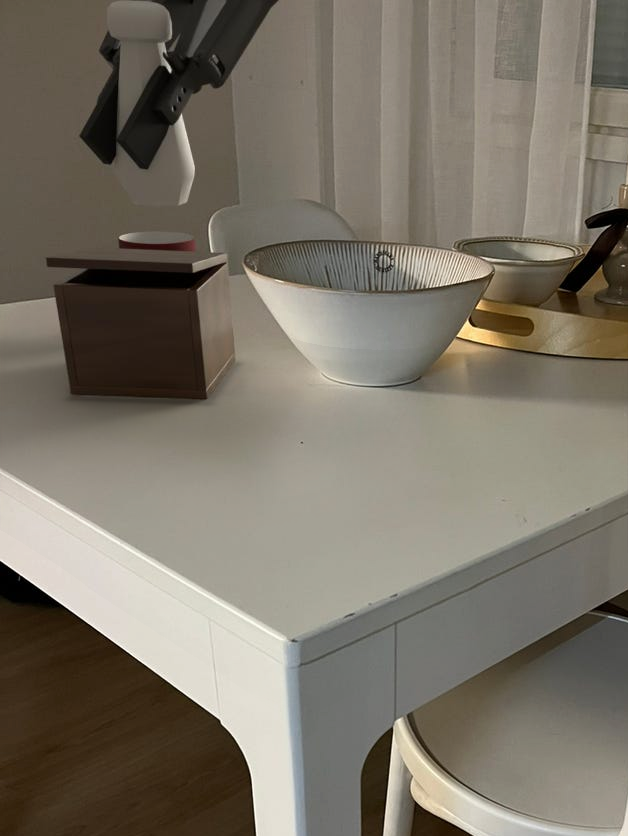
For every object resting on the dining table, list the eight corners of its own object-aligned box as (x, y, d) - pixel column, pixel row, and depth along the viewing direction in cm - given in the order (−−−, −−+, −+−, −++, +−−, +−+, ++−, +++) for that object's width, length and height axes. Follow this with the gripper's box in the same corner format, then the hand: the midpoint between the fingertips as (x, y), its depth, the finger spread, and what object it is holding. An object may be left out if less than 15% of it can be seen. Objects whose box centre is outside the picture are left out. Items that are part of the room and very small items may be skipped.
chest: (207, 399, 96) (196, 290, 91) (70, 394, 95) (52, 284, 90) (235, 360, 107) (227, 262, 102) (114, 355, 107) (100, 256, 102)
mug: (126, 318, 121) (114, 228, 116) (196, 316, 123) (188, 227, 118) (132, 341, 112) (120, 244, 107) (207, 337, 115) (199, 243, 110)
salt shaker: (101, 201, 77) (74, -3, 70) (159, 194, 81) (139, 1, 75) (157, 210, 74) (134, -1, 68) (213, 203, 79) (197, 4, 72)
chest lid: (193, 273, 89) (192, 263, 89) (46, 267, 89) (45, 257, 89) (227, 261, 102) (227, 252, 102) (100, 256, 102) (99, 247, 102)
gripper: (144, -150, 77) (-2, 103, 73) (314, -157, 71) (165, 121, 66) (200, -58, 84) (69, 179, 80) (360, -56, 77) (227, 201, 73)
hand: (113, 152), depth 73 cm, fingers closed on salt shaker, 3 cm apart
